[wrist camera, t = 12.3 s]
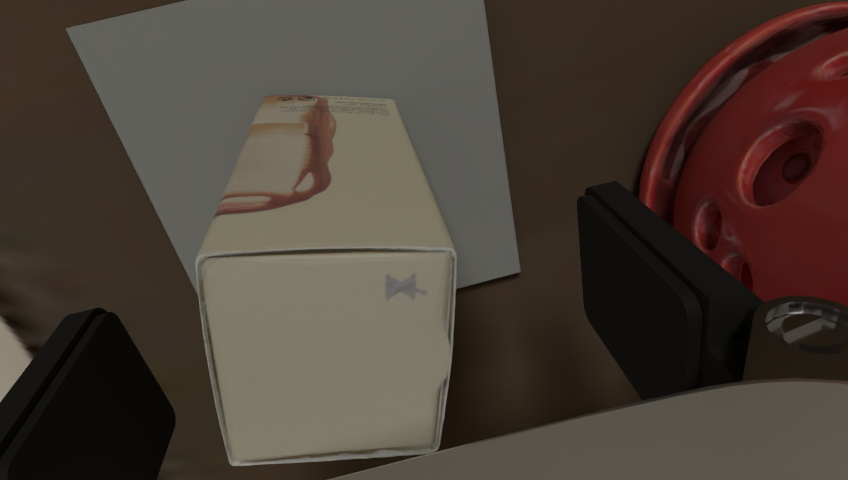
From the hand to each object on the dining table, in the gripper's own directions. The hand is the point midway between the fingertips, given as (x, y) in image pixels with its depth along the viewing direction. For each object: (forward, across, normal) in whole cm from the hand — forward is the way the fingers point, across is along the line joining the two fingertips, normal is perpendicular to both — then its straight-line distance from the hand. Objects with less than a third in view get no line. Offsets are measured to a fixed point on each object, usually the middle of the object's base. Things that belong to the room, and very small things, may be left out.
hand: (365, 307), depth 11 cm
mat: (+9, +1, 0) cm, 9 cm away
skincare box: (+9, +1, 0) cm, 9 cm away
